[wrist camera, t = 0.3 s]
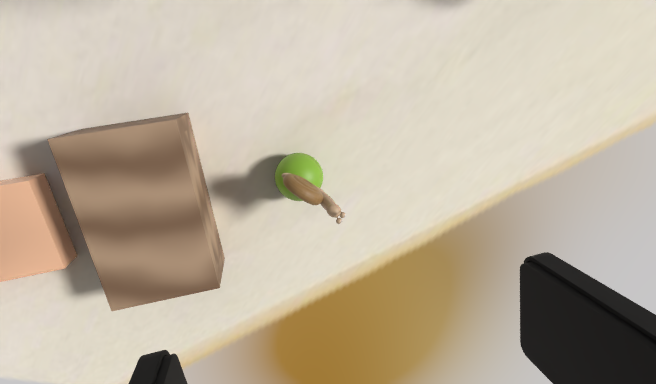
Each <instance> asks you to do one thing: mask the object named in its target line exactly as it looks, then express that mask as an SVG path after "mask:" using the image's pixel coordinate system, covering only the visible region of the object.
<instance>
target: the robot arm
mask: <svg viewBox="0 0 656 384" xmlns="http://www.w3.org/2000/svg"><path fill="white" fill-rule="evenodd" d="M520 334H521V335H520V339H521V340H520V342H521V347H522V350H523V352H524V353H525V355H526V356H527V357H528V358H529V359H530V361H531V362H532V363H533V364H534V365H535V366H537V368H538V369H539V370H540V371H541V372H542V373H543V374H544V375H545V376H546V377H547V378H548V379H549V380H550V381H551V382H552V383H553V384H656V315H655V314H653V313H651V312H650V311H648V310H646V309H645V308H643V307H641V306H639V305H638V304H636V303H634V302H633V301H631V300H629V299H627V298H626V297H624V296H622V295H621V294H619V293H617V292H615V291H614V290H612V289H610V288H609V287H607V286H605V285H604V284H602V283H600V282H598V281H597V280H595V279H593V278H591V277H590V276H588V275H587V274H585V273H583V272H581V271H580V270H578V269H576V268H575V267H573V266H571V265H570V264H568V263H566V262H564V261H563V260H561V259H559V258H558V257H556V256H554V255H553V254H551V253H541V254H538V255H534V256H530V257H527V258H526V259H525V260H524V264H522V265H521V266H520ZM129 384H187V381H186V379H185V377H184V373H183V370H182V367H181V365H180V362H179V359H178V357H177V355H176V354H171V355H170V354H169V352H168V351H167V350H162V351H159V352H155V353H151V354H147V355H143V356H141V357H140V359H139V360H138V363H137V365H136V368H135V370H134V372H133V375H132V377H131V380H130V382H129Z"/></svg>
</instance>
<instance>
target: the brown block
mask: <svg viewBox="0 0 656 384" xmlns="http://www.w3.org/2000/svg"><path fill="white" fill-rule="evenodd" d="M47 140H48V142H49V145H50V148H51V150H52V153H53V156H54V158H55V161H56V164H57V166H58V169H59V172H60V174H61V177H62V180H63V182H64V185H65V188H66V190H67V193H68V196H69V198H70V201H71V204H72V206H73V209H74V212H75V215H76V217H77V220H78V223H79V225H80V228H81V231H82V233H83V236H84V239H85V241H86V244H87V247H88V249H89V252H90V255H91V257H92V260H93V263H94V265H95V268H96V271H97V273H98V276H99V279H100V281H101V284H102V287H103V289H104V292H105V295H106V297H107V300H108V303H109V305H110V308H111V311H115V310H120V309H125V308H129V307H134V306H138V305H143V304H148V303H152V302H157V301H162V300H166V299H171V298H175V297H180V296H185V295H189V294H194V293H199V292H203V291H208V290H212V289H217V288H220V283H221V277H222V271H223V265H224V259H225V258H224V254H223V250H222V246H221V242H220V238H219V234H218V230H217V226H216V222H215V218H214V214H213V210H212V206H211V202H210V198H209V194H208V190H207V186H206V182H205V178H204V174H203V170H202V166H201V162H200V158H199V154H198V150H197V146H196V142H195V138H194V134H193V130H192V126H191V122H190V118H189V114H188V113H183V114H177V115H170V116H164V117H157V118H151V119H144V120H138V121H131V122H125V123H118V124H112V125H105V126H99V127H92V128H86V129H81V130H77V131H74V132H71V133H67V134H64V135H61V136H57V137H54V138H51V139H47Z"/></svg>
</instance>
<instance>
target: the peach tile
mask: <svg viewBox="0 0 656 384" xmlns="http://www.w3.org/2000/svg"><path fill="white" fill-rule="evenodd" d="M76 257H77V254H76V251H75V249H74V246H73V244H72V241H71V239H70V236H69V234H68V231H67V229H66V226H65V224H64V221H63V219H62V216H61V214H60V211H59V209H58V206H57V204H56V201H55V199H54V196H53V194H52V191H51V189H50V186H49V184H48V181H47V179H46V176H45V174H44V173H43V174H37V175H32V176H26V177H20V178H14V179H9V180H3V181H0V282H2V281H7V280H12V279H17V278H21V277H26V276H31V275H36V274H41V273H45V272H50V271H55V270H60V269H65V268H66V267H67V266H68V265H69V264H70V263H71V262H72V261H73V260H74V259H75V258H76Z"/></svg>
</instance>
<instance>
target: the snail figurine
mask: <svg viewBox="0 0 656 384" xmlns="http://www.w3.org/2000/svg"><path fill="white" fill-rule="evenodd" d="M322 181H323V173H322V169H321V167H320V165H319V163H318V162H317V161H316V160H315V159H314V158H313V157H311V156H309V155H307V154H304V153H294V154H291V155H288V156H286V157H285V158H284V159H282V160H281V162H280V163H279V164H278V166H277V168H276V172H275V182H276V186H277V188H278V190H279V191H280V192H281V193H282V194H283V195H284V196H285V197H287V198H288V199H291V200H294V201H305V202H307V203H309V204H312V205H318V204H321V205H322V206H323V208H324V209H326V210H327V213H328V214H329V215H330V216H331V217H336V218H337V220H336V222H337V223H338V224H340V223H341V222H342V220H341V218H344V217H345V213H344V212H341V209H340V207H339V206H338V205H336V204H335V202H334V201H333V199H332V198H331V197H330V196H328V195H327V194H326V193H325V192H324V191H323V190H321V189H320V187H321V185H322ZM339 215H340V217H341V218H338V216H339Z"/></svg>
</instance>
